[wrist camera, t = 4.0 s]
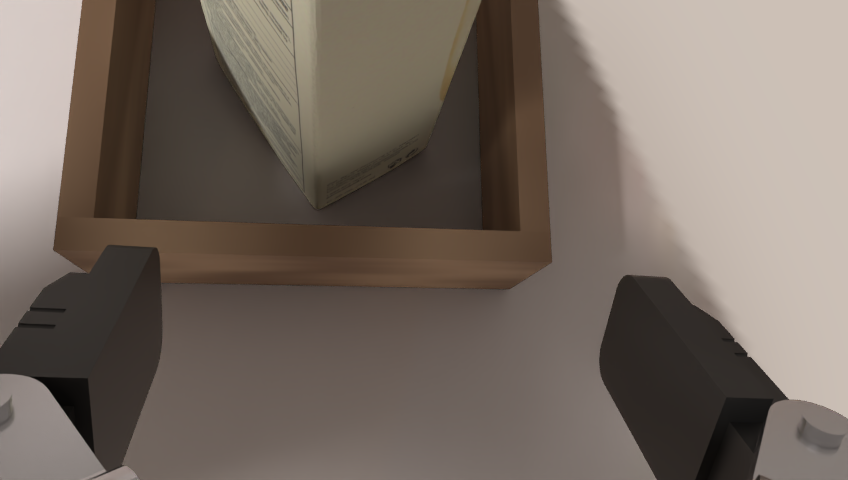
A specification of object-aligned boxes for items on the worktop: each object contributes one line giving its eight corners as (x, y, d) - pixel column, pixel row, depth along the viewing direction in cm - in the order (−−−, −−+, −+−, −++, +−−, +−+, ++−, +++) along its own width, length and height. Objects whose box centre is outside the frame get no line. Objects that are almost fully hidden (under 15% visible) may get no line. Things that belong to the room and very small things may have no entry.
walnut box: (101, 281, 20) (52, 249, 17) (137, -83, 23) (103, -182, 19) (509, 288, 22) (552, 262, 18) (496, -49, 25) (530, -133, 21)
